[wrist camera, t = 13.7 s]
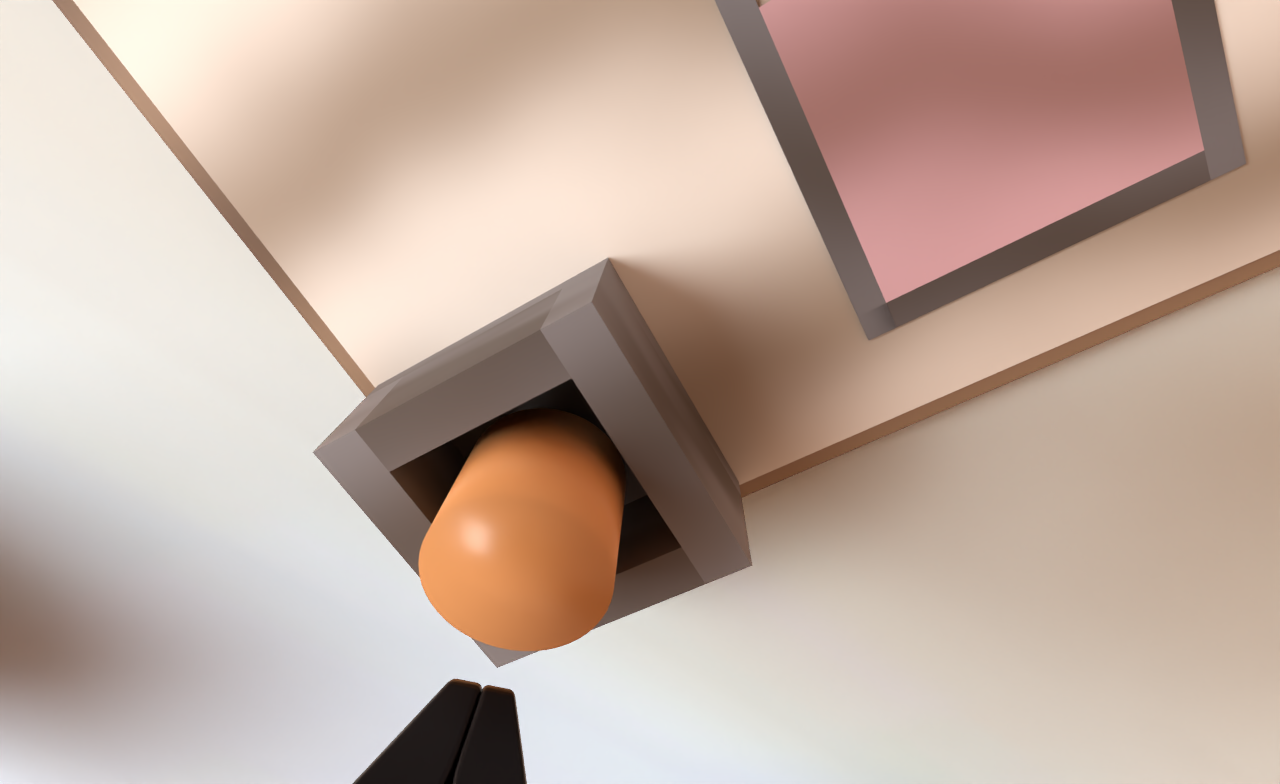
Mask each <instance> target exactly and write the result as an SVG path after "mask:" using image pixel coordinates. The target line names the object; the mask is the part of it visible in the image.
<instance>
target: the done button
mask: <svg viewBox="0 0 1280 784" xmlns="http://www.w3.org/2000/svg"><path fill="white" fill-rule="evenodd" d="M625 492H626V472H625V467H624V463H623V461H622V458H621V455H620V454H619V452H618V450H617V448H616V446H615V445H614V444H613V442H612V441H611V440H610V439H609V437H608V436H607V435H606V434H605V433H604V432H603V431H601V430H600V429H599V428H598V427H596V426H595V425H594V424H592V423H591V422H589V421H587V420H586V419H584V418H582V417H579V416H577V415H575V414H572V413H569V412H566V411H561V410H557V409H548V408H533V409H526V410H521V411H517V412H514V413H511V414H509V415H506V416H504V417H502V418H501V419H499V420H497V421H496V422H494V423H493V424H492V425H491V426H489V427H488V428H487V429H486V430H485V431H484V432H483V434H482V435H481V436H480V438H479V439H478V441H477V442H476V444H475V446H474V448H473V449H472V451H471V453H470V455H469V457H468V459H467V460H466V462H465V464H464V466H463V468H462V470H461V471H460V473H459V475H458V477H457V479H456V481H455V482H454V484H453V486H452V488H451V490H450V492H449V493H448V495H447V497H446V499H445V501H444V503H443V504H442V506H441V508H440V510H439V512H438V513H437V515H436V517H435V519H434V521H433V523H432V524H431V526H430V528H429V530H428V532H427V534H426V536H425V538H424V540H423V542H422V545H421V549H420V553H419V562H418V565H419V575H420V579H421V583H422V586H423V589H424V591H425V594H426V595H427V597H428V599H429V601H430V602H431V604H432V605H433V606H434V608H435V609H436V610H437V612H438V613H439V614H440V615H441V616H442V617H443V618H444V619H445V620H446V621H447V622H448V623H450V624H451V625H452V626H453V627H455V628H456V629H458V630H459V631H461V632H462V633H464V634H465V635H467V636H469V637H471V638H473V639H475V640H477V641H480V642H482V643H485V644H488V645H491V646H494V647H498V648H503V649H508V650H516V651H539V650H547V649H552V648H557V647H560V646H563V645H566V644H569V643H571V642H573V641H575V640H577V639H579V638H580V637H582V636H584V635H585V634H587V633H588V632H589V631H590V630H592V629H593V628H594V627H595V626H596V625H597V624H598V623H599V622H600V620H601V619H602V618H603V616H604V615H605V613H606V612H607V610H608V607H609V605H610V603H611V600H612V596H613V592H614V583H615V575H616V567H617V558H618V550H619V542H620V534H621V525H622V517H623V509H624V500H625Z"/></svg>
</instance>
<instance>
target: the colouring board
mask: <svg viewBox="0 0 1280 784" xmlns="http://www.w3.org/2000/svg"><path fill="white" fill-rule="evenodd" d="M53 2H54V3H55V4H56V5H57V7H58V8H59V9H60V10H61V12H62V13H63V14H64V16H65V17H66V18H67V19H68V21H69V22H70V23H71V24H72V26H73V27H74V28H75V29H76V31H77V32H78V33H79V35H80V36H81V37H82V38H83V40H84V41H85V42H86V43H87V45H88V46H89V47H90V48H91V50H92V51H93V52H94V53H95V55H96V56H97V57H98V59H99V60H100V61H101V62H102V64H103V65H104V66H105V67H106V69H107V70H108V71H109V72H110V74H111V75H112V76H113V78H114V79H115V80H116V81H117V83H118V84H119V85H120V86H121V88H122V89H123V90H124V91H125V93H126V94H127V95H128V97H129V98H130V99H131V100H132V102H133V103H134V104H135V105H136V107H137V108H138V109H139V110H140V112H141V113H142V114H143V115H144V117H145V118H146V119H147V121H148V122H149V123H150V124H151V126H152V127H153V128H154V129H155V131H156V132H157V133H158V134H159V136H160V137H161V138H162V140H163V141H164V142H165V143H166V145H167V146H168V147H169V148H170V150H171V151H172V152H173V153H174V155H175V156H176V157H177V159H178V160H179V161H180V162H181V164H182V165H183V166H184V167H185V169H186V170H187V171H188V172H189V174H190V175H191V176H192V178H193V179H194V180H195V181H196V183H197V184H198V185H199V186H200V188H201V189H202V190H203V191H204V193H205V194H206V195H207V196H208V198H209V199H210V200H211V202H212V203H213V204H214V205H215V207H216V208H217V209H218V210H219V212H220V213H221V214H222V215H223V217H224V218H225V219H226V221H227V222H228V223H229V224H230V226H231V227H232V228H233V229H234V231H235V232H236V233H237V234H238V236H239V237H240V238H241V240H242V241H243V242H244V243H245V245H246V246H247V247H248V248H249V250H250V251H251V252H252V253H253V255H254V256H255V257H256V258H257V260H258V261H259V262H260V264H261V265H262V266H263V267H264V269H265V270H266V271H267V272H268V274H269V275H270V276H271V277H272V279H273V280H274V281H275V283H276V284H277V285H278V286H279V288H280V289H281V290H282V291H283V293H284V294H285V295H286V296H287V298H288V299H289V300H290V302H291V303H292V304H293V305H294V307H295V308H296V309H297V310H298V312H299V313H300V314H301V315H302V317H303V318H304V319H305V320H306V322H307V323H308V324H309V326H310V327H311V328H312V329H313V331H314V332H315V333H316V334H317V336H318V337H319V338H320V339H321V341H322V342H323V343H324V345H325V346H326V347H327V348H328V350H329V351H330V352H331V353H332V355H333V356H334V357H335V358H336V360H337V361H338V362H339V364H340V365H341V366H342V367H343V369H344V370H345V371H346V372H347V374H348V375H349V376H350V377H351V379H352V380H353V381H354V383H355V384H356V385H357V386H358V388H359V389H360V390H361V391H362V393H363V394H364V395H365V396H366V398H365V399H364V400H363V401H362V402H361V403H360V404H359V405H358V406H357V407H356V408H355V409H354V410H353V412H352V413H351V414H350V415H349V416H348V417H347V418H346V419H345V420H344V421H343V422H342V423H341V424H340V425H339V426H338V427H337V428H336V429H335V430H334V431H333V432H332V433H331V434H330V435H329V436H328V437H327V438H326V439H325V440H324V441H323V442H322V444H321V445H320V446H319V447H318V448H317V449H316V450H315V451H314V452H313V453H314V454H315V455H316V456H317V458H318V459H319V460H320V461H321V462H322V463H323V465H324V466H325V467H326V468H327V469H328V471H329V472H330V473H331V474H332V475H333V476H334V478H335V479H336V480H337V481H338V482H339V483H340V485H341V486H342V487H343V488H344V489H345V490H346V492H347V493H348V494H349V495H350V496H351V497H352V499H353V500H354V501H355V502H356V503H357V504H358V506H359V507H360V508H361V509H362V510H363V511H364V513H365V514H366V515H367V516H368V517H369V518H370V520H371V521H372V522H373V523H374V524H375V526H376V527H377V528H378V529H379V530H380V531H381V533H382V534H383V535H384V536H385V537H386V538H387V540H388V541H389V542H390V543H391V544H392V545H393V547H394V548H395V549H396V550H397V551H398V552H399V554H400V555H401V556H402V557H403V558H404V559H405V561H406V562H407V563H408V564H409V565H410V566H411V568H412V569H413V570H414V571H415V572H416V574H417V575H418V576H419V577H420V575H419V565H418V562H419V553H420V549H421V545H422V542H423V540H424V538H425V536H426V534H427V532H428V530H429V528H430V526H431V524H432V523H433V521H434V519H435V517H436V515H437V513H438V512H439V510H440V508H441V506H442V504H443V503H444V501H445V499H446V497H447V495H448V493H449V492H450V490H451V488H452V486H453V484H454V482H455V481H456V479H457V477H458V475H459V473H460V471H461V470H462V468H463V466H464V464H465V462H466V460H467V459H468V457H469V455H470V453H471V451H472V449H473V448H474V446H475V444H476V442H477V441H478V439H479V438H480V436H481V435H482V434H483V432H484V431H485V430H486V429H487V428H488V427H489V426H491V425H492V424H493V423H494V422H496V421H497V420H499V419H501V418H502V417H504V416H506V415H509V414H511V413H514V412H517V411H521V410H526V409H533V408H548V409H557V410H561V411H566V412H569V413H572V414H575V415H577V416H579V417H582V418H584V419H586V420H587V421H589V422H591V423H592V424H594V425H595V426H596V427H598V428H599V429H600V430H601V431H603V432H604V433H605V434H606V435H607V436H608V437H609V439H610V440H611V441H612V442H613V444H614V445H615V446H616V448H617V450H618V452H619V454H620V455H621V458H622V461H623V463H624V467H625V472H626V492H625V500H624V509H623V517H622V525H621V534H620V542H619V550H618V558H617V567H616V575H615V583H614V592H613V596H612V600H611V603H610V605H609V607H608V610H607V612H606V613H605V615H604V616H603V618H602V619H601V620H600V622H599V623H598V624H597V625H596V626H595V627H594V628H593V629H595V628H597V627H600V626H602V625H605V624H607V623H610V622H612V621H615V620H617V619H620V618H622V617H625V616H627V615H630V614H632V613H635V612H637V611H640V610H642V609H645V608H647V607H650V606H652V605H655V604H657V603H660V602H662V601H665V600H667V599H669V598H672V597H674V596H677V595H679V594H682V593H684V592H687V591H689V590H692V589H694V588H697V587H699V586H702V585H704V584H707V583H709V582H712V581H714V580H717V579H719V578H722V577H724V576H727V575H729V574H732V573H734V572H737V571H739V570H742V569H744V568H747V567H749V566H752V562H751V556H750V550H749V543H748V537H747V531H746V524H745V518H744V511H743V505H742V499H741V498H742V497H744V496H747V495H749V494H751V493H753V492H756V491H758V490H760V489H763V488H765V487H767V486H770V485H772V484H774V483H777V482H779V481H781V480H784V479H786V478H788V477H791V476H793V475H795V474H798V473H800V472H802V471H805V470H807V469H809V468H812V467H814V466H816V465H819V464H821V463H823V462H826V461H828V460H830V459H833V458H835V457H837V456H840V455H842V454H844V453H846V452H849V451H851V450H853V449H856V448H858V447H860V446H863V445H865V444H867V443H870V442H872V441H874V440H877V439H879V438H881V437H884V436H886V435H888V434H891V433H893V432H895V431H898V430H900V429H902V428H905V427H907V426H909V425H912V424H914V423H916V422H919V421H921V420H923V419H926V418H928V417H930V416H933V415H935V414H937V413H939V412H942V411H944V410H946V409H949V408H951V407H953V406H956V405H958V404H960V403H963V402H965V401H967V400H970V399H972V398H974V397H977V396H979V395H981V394H984V393H986V392H988V391H991V390H993V389H995V388H998V387H1000V386H1002V385H1005V384H1007V383H1009V382H1012V381H1014V380H1016V379H1019V378H1021V377H1023V376H1026V375H1028V374H1030V373H1032V372H1035V371H1037V370H1039V369H1042V368H1044V367H1046V366H1049V365H1051V364H1053V363H1056V362H1058V361H1060V360H1063V359H1065V358H1067V357H1070V356H1072V355H1074V354H1077V353H1079V352H1081V351H1084V350H1086V349H1088V348H1091V347H1093V346H1095V345H1098V344H1100V343H1102V342H1105V341H1107V340H1109V339H1112V338H1114V337H1116V336H1119V335H1121V334H1123V333H1126V332H1128V331H1130V330H1132V329H1135V328H1137V327H1139V326H1142V325H1144V324H1146V323H1149V322H1151V321H1153V320H1156V319H1158V318H1160V317H1163V316H1165V315H1167V314H1170V313H1172V312H1174V311H1177V310H1179V309H1181V308H1184V307H1186V306H1188V305H1191V304H1193V303H1195V302H1198V301H1200V300H1202V299H1205V298H1207V297H1209V296H1212V295H1214V294H1216V293H1219V292H1221V291H1223V290H1225V289H1228V288H1230V287H1232V286H1235V285H1237V284H1239V283H1242V282H1244V281H1246V280H1249V279H1251V278H1253V277H1256V276H1258V275H1260V274H1263V273H1265V272H1267V271H1270V270H1272V269H1274V268H1277V267H1279V266H1280V0H53ZM472 639H473V638H472ZM473 640H474V641H475V643H476V644H477V645H478V646H479V647H480V648H481V650H482V651H483V652H484V653H485V654H486V655H487V657H488V658H489V659H490V660H491V661H492V662H493V664H494V665H495V666H496V667H497V668H498V667H500V666H503V665H505V664H508V663H510V662H513V661H515V660H518V659H520V658H523V657H525V656H528V655H530V654H533V653H535V652H537V651H516V650H508V649H503V648H498V647H494V646H491V645H488V644H485V643H482V642H480V641H477V640H475V639H473ZM539 651H540V650H539Z"/></svg>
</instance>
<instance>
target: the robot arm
mask: <svg viewBox="0 0 1280 784" xmlns="http://www.w3.org/2000/svg"><path fill="white" fill-rule="evenodd" d="M353 784H527V781H526V774H525V766H524V759H523V751H522V744H521V737H520V729H519V722H518V714H517V707H516V699H515V695H514V692H513V691H512V690H510V689H505V688H500V687H495V686H490V685H487V686H485V687H484V688H483V689H482V687H481V685H480V684H478V683H475V682H470V681H465V680H460V679H453V680H450V681H449V682H448V683H447V684H446V685H445V686H444V687H443V688H442V689H441V690H440V691H439V692H438V693H437V694H436V695H435V696H434V698H433V699H432V700H431V701H430V702H429V703H428V704H427V705H426V706H425V707H424V708H423V709H422V710H421V711H420V712H419V714H418V715H417V716H416V717H415V718H414V719H413V720H412V721H411V722H410V723H409V724H408V725H407V726H406V727H405V728H404V729H403V731H402V732H401V733H400V734H399V735H398V736H397V737H396V738H395V739H394V740H393V741H392V742H391V743H390V744H389V745H388V747H387V748H386V749H385V750H384V751H383V752H382V753H381V754H380V755H379V756H378V757H377V758H376V759H375V760H374V761H373V762H372V764H371V765H370V766H369V767H368V768H367V769H366V770H365V771H364V772H363V773H362V774H361V775H360V776H359V777H358V778H357V780H356V781H355V782H354V783H353Z"/></svg>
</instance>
